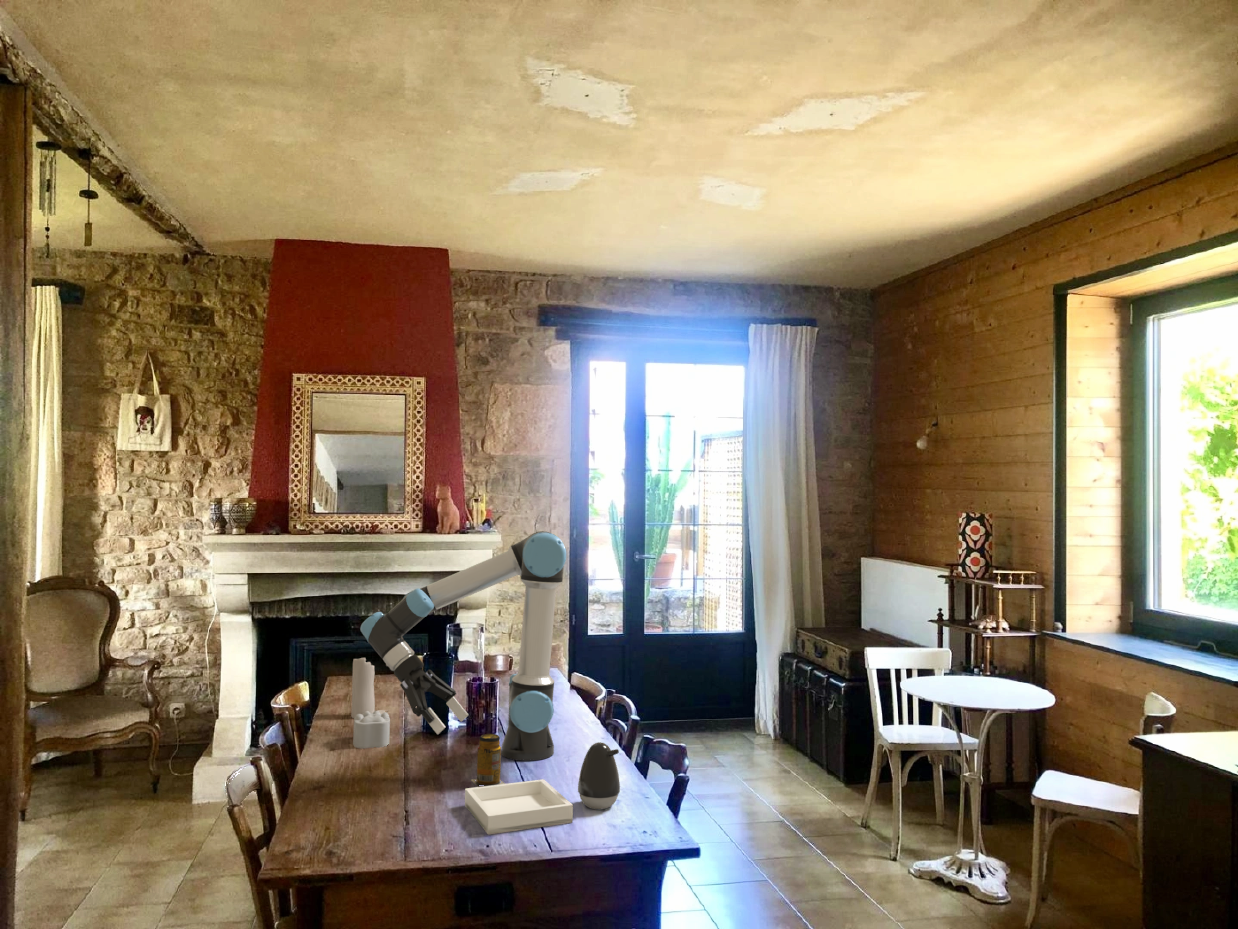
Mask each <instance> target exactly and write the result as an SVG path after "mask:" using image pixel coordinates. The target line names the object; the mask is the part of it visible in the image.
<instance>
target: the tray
mask: <svg viewBox="0 0 1238 929" xmlns="http://www.w3.org/2000/svg"><path fill="white" fill-rule="evenodd" d="M464 791H465V792H464V806H465V808H466V809H467V810H468V811H469V813H470V814H471V815H472V816H473V818H474V819H475V820H476V821H477V822H478V824H479V825H480V827H481V828H482V829H483V830H484V831H485V833H486V834H487V835H488V836H490V835H496V834H503V833H509V832H517V831H522V830H528V829H537V828H543V827H552V826H557V825H566V824H573V820H574V819H573V818H574V817H573V816H574V815H573V814H574V805H573V804H572V803H571V802H570V801H569V800H567V798H566V797H565V796H563V795H562V794H561V793H560V792H559V791H558V790H557V789H556V788H555V787H553V785H552V784H550V783H549V782H548V781H546V780H545V779H537V780H535V779H534V780H527V781H518V782H510V783H509V782H508V783H505V784H500V785H492V786H483V787H477V786H475V787H469V788H465V790H464Z"/></svg>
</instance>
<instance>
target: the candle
mask: <svg viewBox="0 0 1238 929" xmlns="http://www.w3.org/2000/svg"><path fill="white" fill-rule="evenodd" d="M366 661H367V659H366V657H361V658H353V661H352V680H351V681H352V682H351V712H350V715H351V716H350V717H351V718H352V719H354V718H355V716H356V715H357V714H363V713H364V712H366V711H369V712H370V713H373V712H374V711H379V712H380V714H382V713H385V711H386V710H385V709H379V710H378V709H377V710H376V706H375V705H376V700H375V698H376V697H375V687H374V685H375V684H374V683H375V682H374V681H375V675H376V674H375V665H373V664H372V663H371V661H367V662H366Z"/></svg>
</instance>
